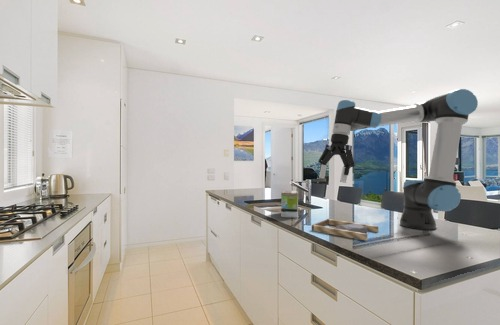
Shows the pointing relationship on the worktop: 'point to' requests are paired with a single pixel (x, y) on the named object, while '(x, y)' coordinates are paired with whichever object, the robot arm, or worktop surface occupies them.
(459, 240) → the worktop surface
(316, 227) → the channel
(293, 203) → the tea box
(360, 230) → the stone block
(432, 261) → the worktop surface
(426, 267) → the worktop surface
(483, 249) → the worktop surface
